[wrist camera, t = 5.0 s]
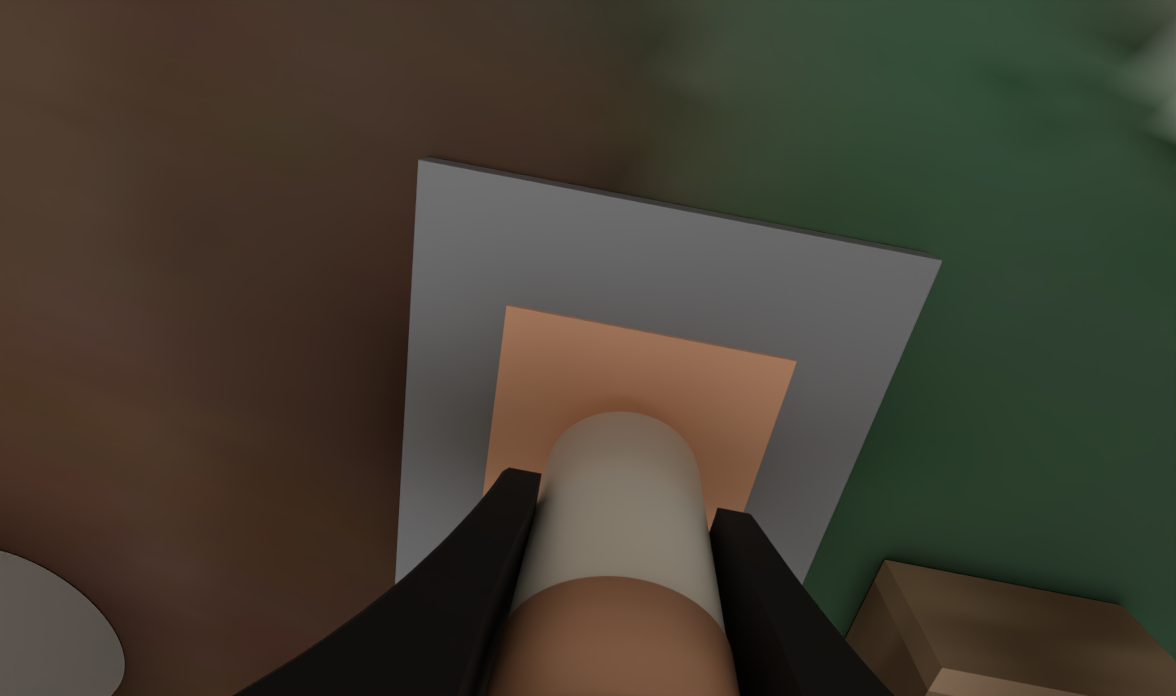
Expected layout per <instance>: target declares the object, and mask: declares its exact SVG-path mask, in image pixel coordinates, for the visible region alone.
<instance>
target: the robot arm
mask: <svg viewBox="0 0 1176 696" xmlns="http://www.w3.org/2000/svg"><path fill="white" fill-rule="evenodd" d="M541 476H542V474H541V473H536V472H531V471H526V470H520V469H515V468H510V467H509V468H507V469H505V470H504V471H502V472H501V474H500V476H499V477H498V479H497V480H496V481H495V483H494V484H493V485H492V487H491V488H490V489H489V491H488V492H487V493H486V494H485V496H484V497H483V498H482V499H481V500H480V501H479V503H478V504H477V505H476V506H475V507H474V508H473V510H472V511H471V512H470V513H469V514H468V515H467V516H466V517H465V518H464V519H463V520H462V522H461V523H460V524H459V525H458V526H457V527H456V528H455V529H454V530H453V531H452V532H451V533H450V534H449V535H448V536H447V537H446V538H445V539H444V540H443V541H442V542H441V543H440V544H439V545H438V546H437V547H436V548H435V549H434V550H433V551H432V552H431V553H430V554H429V555H428V556H426V557H425V558H424V559H423V560H422V561H421V562H420V563H419V564H418V565H417V566H416V567H415V568H414V569H413V570H412V571H410V572H409V573H408V574H407V575H406V576H405V577H403V578H402V579H401V580H400V581H399V582H398V583H396V584H395V585H394V586H393V587H392V588H391V589H389V590H388V591H387V592H386V593H384V594H383V595H382V596H381V597H379V598H378V599H377V600H376V601H374V602H373V603H372V604H370V605H369V606H368V607H367V608H365V609H364V610H363V611H361V612H360V613H359V614H357V615H356V616H355V617H353V618H352V619H351V620H349V621H348V622H346V623H345V624H344V625H342V626H341V627H339V628H338V629H337V630H335V631H334V632H332V633H331V634H330V635H328V636H327V637H325V638H324V639H323V640H321V641H320V642H318V643H317V644H315V645H314V646H312V647H311V648H309V649H308V650H306V651H305V652H303V653H302V654H300V655H299V656H297V657H296V658H294V659H292V660H291V661H289V662H287V663H286V664H284V665H282V666H281V667H279V668H278V669H276V670H274V671H273V672H271V673H269V674H268V675H266V676H264V677H263V678H261V679H259V680H258V681H256V682H254V683H253V684H251V685H250V686H248V687H246V688H245V689H243V690H241V691H240V692H238V693H236V694H235V695H233V696H485V693H486V689H487V685H488V681H489V677H490V673H491V669H492V665H493V661H494V657H495V653H496V650H497V646H498V642H499V638H500V634H501V632H502V629H503V627H504V625H505V623H506V621H507V620H508V616H509V612H510V608H511V604H512V600H513V596H514V592H515V588H516V584H517V580H518V576H519V572H520V568H521V564H522V560H523V556H524V552H525V549H526V545H527V541H528V537H529V533H530V529H531V525H532V521H533V517H534V513H535V509H536V505H537V499H538V493H539V487H540V482H541ZM709 535H710V541H711V547H712V553H713V559H714V565H715V571H716V577H717V584H718V590H719V596H720V602H721V608H722V614H723V620H724V626H725V632H726V637H727V639H728V641H729V644H730V646H731V650H732V654H733V658H734V664H735V670H736V675H737V681H738V687H739V693H740V696H894V694H893V693H892V692H891V691H890V690H889V689H888V688H887V687H886V686H885V685H884V684H883V683H882V682H881V681H880V680H879V678H878V677H877V676H876V675H875V674H874V673H873V672H872V671H871V669H870V668H869V667H868V666H867V665H866V664H865V663H864V662H863V660H862V659H861V658H860V657H859V656H858V654H857V653H856V652H855V651H854V650H853V648H852V647H851V646H850V645H849V644H848V643H847V641H846V640H845V639H844V638H843V637H842V635H841V634H840V633H839V632H838V631H837V629H836V628H835V627H834V626H833V624H832V623H831V622H830V621H829V619H828V618H827V617H826V616H825V614H824V613H823V612H822V611H821V609H820V608H819V607H818V605H817V604H816V603H815V602H814V600H813V599H812V598H811V596H810V595H809V594H808V592H807V591H806V590H805V588H804V587H803V586H802V584H801V583H800V582H799V580H798V579H797V577H796V576H795V575H794V573H793V572H792V571H791V569H790V568H789V567H788V565H787V564H786V562H785V561H784V560H783V558H782V557H781V555H780V554H779V553H778V551H777V550H776V548H775V547H774V546H773V544H772V543H771V541H770V540H769V538H768V537H767V536H766V534H765V533H764V531H763V530H762V529H761V527H760V526H759V524H758V523H757V522H756V520H755V519H754V518H753V516H752V515H751V514H749V513H744V512H739V511H734V510H728V509H723V508H717V511H716V514H715V517H714V520H713V523H712V526H711V529H710V532H709Z"/></svg>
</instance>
